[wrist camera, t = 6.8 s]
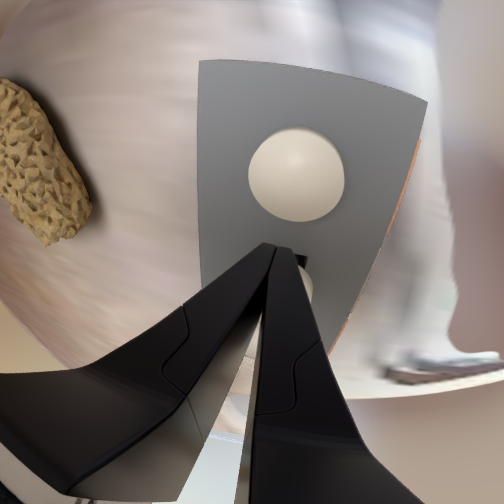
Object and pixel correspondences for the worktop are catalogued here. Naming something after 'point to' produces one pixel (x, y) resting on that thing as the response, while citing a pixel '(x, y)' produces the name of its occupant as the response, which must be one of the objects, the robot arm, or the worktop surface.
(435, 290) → the worktop surface
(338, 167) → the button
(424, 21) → the worktop surface
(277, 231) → the board
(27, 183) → the sponge
